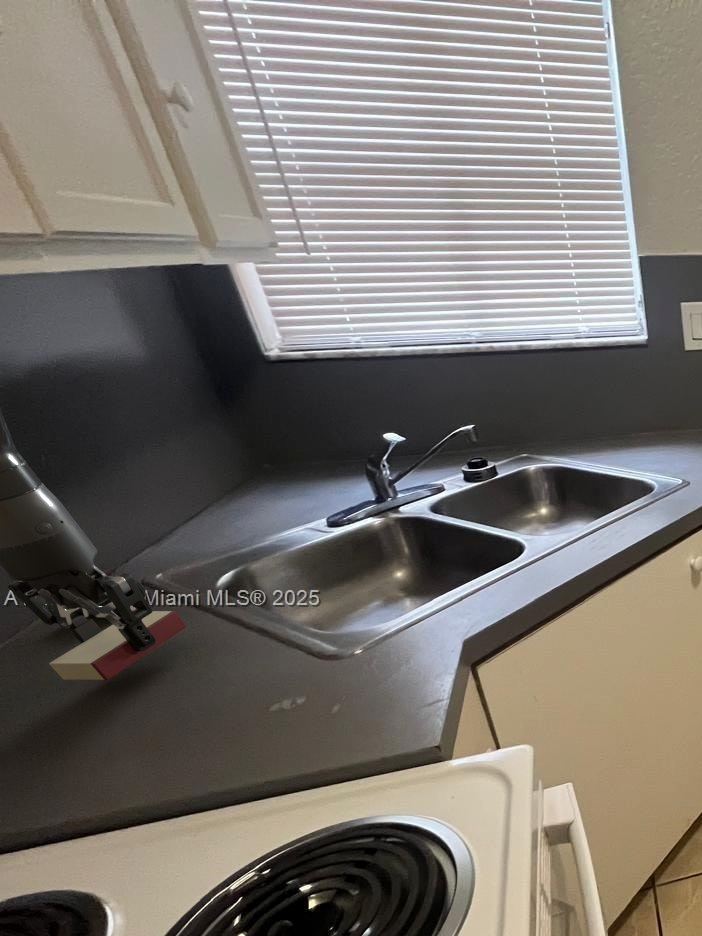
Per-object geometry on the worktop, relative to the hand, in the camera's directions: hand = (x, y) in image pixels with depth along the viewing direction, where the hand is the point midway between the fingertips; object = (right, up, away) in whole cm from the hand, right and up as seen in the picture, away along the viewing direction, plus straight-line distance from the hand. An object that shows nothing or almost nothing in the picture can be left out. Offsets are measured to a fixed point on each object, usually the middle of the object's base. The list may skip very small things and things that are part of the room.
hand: (123, 647), depth 80 cm
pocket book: (0, -1, +1) cm, 1 cm away
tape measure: (-17, +4, +15) cm, 23 cm away
